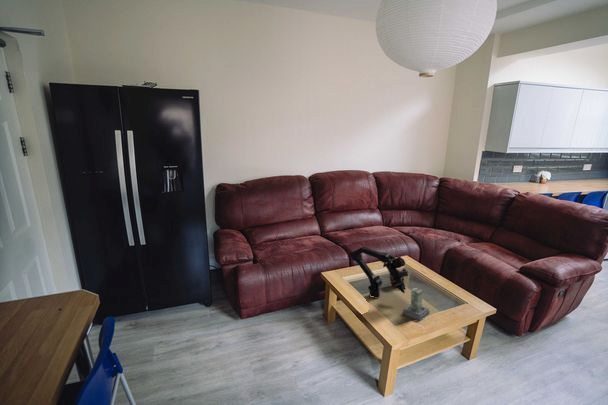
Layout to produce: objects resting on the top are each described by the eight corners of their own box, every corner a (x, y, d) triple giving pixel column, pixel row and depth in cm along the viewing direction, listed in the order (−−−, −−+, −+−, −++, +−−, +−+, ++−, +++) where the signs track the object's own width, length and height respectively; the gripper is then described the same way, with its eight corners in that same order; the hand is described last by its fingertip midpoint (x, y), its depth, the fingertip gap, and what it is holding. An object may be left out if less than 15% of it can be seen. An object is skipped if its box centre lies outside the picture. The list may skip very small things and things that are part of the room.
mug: (403, 285, 231) (404, 273, 229) (403, 289, 224) (403, 277, 222) (390, 283, 235) (390, 272, 233) (389, 288, 227) (389, 276, 225)
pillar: (410, 310, 191) (411, 290, 188) (414, 307, 194) (415, 287, 192) (417, 313, 187) (418, 292, 185) (421, 310, 190) (422, 290, 188)
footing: (403, 313, 191) (403, 308, 191) (412, 307, 199) (412, 302, 198) (420, 321, 182) (420, 315, 182) (429, 313, 190) (429, 308, 189)
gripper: (402, 267, 191) (415, 289, 188) (404, 263, 209) (415, 283, 205) (387, 275, 195) (399, 296, 192) (390, 269, 212) (401, 289, 209)
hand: (404, 291), depth 199 cm, fingers open, 9 cm apart
